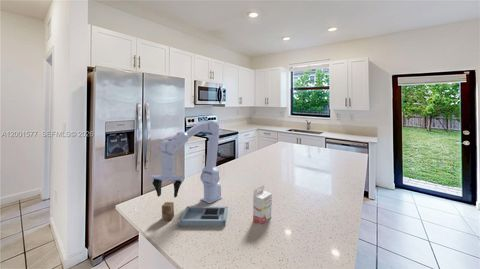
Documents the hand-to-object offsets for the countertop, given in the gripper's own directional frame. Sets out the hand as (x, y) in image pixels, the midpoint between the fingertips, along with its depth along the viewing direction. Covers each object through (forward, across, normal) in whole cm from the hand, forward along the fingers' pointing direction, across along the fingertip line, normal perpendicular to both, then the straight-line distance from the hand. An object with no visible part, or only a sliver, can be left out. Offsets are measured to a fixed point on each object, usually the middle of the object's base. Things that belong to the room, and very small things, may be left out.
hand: (167, 196), depth 96 cm
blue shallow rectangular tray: (+10, +17, +1) cm, 20 cm away
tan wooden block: (+11, 0, 0) cm, 11 cm away
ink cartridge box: (+9, +44, +2) cm, 45 cm away
